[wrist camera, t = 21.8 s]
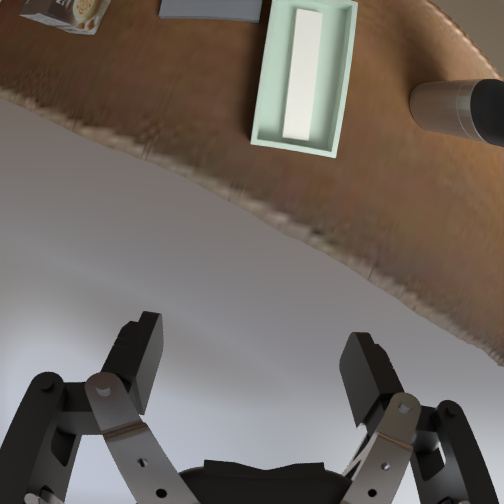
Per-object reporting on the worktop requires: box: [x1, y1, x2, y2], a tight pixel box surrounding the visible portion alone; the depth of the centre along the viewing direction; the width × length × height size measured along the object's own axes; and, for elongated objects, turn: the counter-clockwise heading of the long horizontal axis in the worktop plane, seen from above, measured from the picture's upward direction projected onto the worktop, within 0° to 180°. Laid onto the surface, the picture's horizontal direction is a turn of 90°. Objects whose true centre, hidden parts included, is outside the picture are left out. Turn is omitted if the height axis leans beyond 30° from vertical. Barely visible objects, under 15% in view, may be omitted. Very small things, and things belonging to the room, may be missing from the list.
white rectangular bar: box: [282, 9, 322, 141], centre depth 40 cm, size 4×22×2 cm, turn 174°
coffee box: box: [19, 0, 111, 35], centre depth 27 cm, size 9×6×16 cm
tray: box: [251, 0, 358, 158], centre depth 40 cm, size 13×27×4 cm, turn 172°
